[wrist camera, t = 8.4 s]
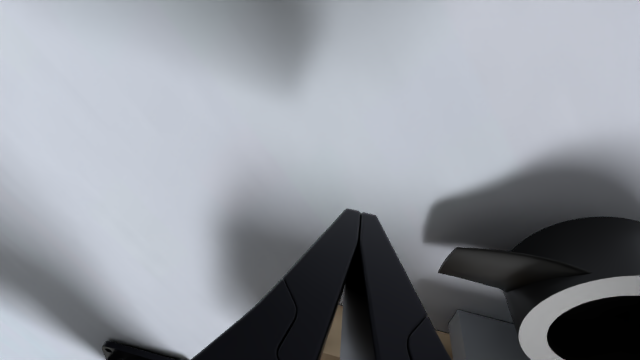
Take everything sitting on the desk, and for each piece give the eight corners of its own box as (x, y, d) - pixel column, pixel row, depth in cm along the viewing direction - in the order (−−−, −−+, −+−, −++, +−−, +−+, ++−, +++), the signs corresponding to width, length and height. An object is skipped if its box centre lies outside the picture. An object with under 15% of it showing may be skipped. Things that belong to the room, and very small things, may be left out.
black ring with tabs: (630, 122, 10) (700, 174, 8) (754, 303, 13) (834, 382, 10) (419, 237, 14) (423, 294, 12) (547, 357, 17) (572, 423, 14)
